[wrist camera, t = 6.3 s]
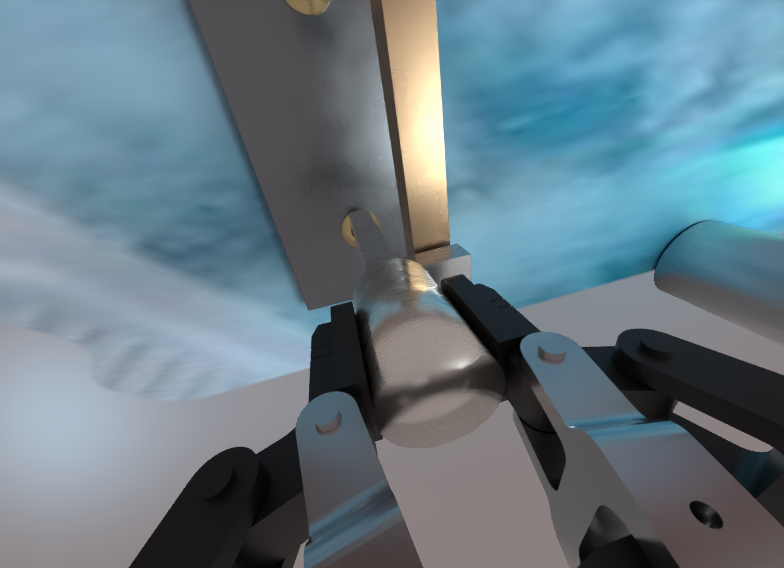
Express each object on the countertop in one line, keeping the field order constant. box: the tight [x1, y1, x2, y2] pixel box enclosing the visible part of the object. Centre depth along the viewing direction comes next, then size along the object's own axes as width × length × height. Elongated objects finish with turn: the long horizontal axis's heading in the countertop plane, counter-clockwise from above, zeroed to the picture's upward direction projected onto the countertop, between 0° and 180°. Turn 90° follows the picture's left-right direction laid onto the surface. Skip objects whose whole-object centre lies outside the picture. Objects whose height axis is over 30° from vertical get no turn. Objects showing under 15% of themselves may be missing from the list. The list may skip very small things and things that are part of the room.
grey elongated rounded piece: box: [348, 209, 506, 448], centre depth 14 cm, size 5×3×17 cm
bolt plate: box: [189, 0, 450, 311], centre depth 15 cm, size 12×22×12 cm, turn 10°
